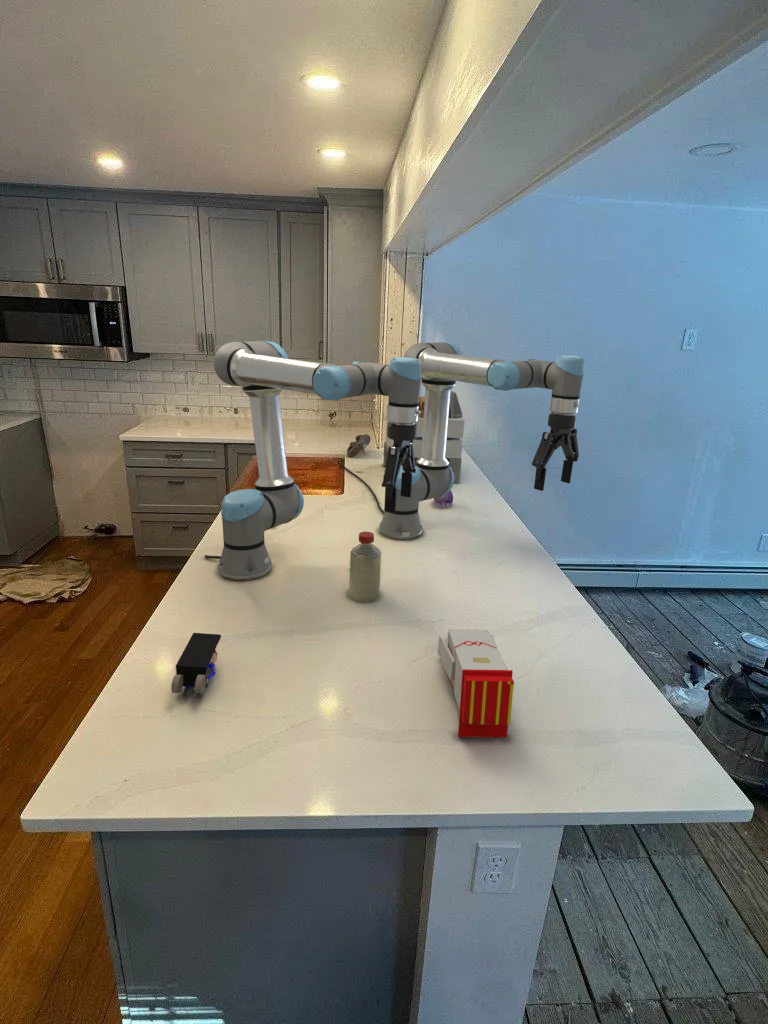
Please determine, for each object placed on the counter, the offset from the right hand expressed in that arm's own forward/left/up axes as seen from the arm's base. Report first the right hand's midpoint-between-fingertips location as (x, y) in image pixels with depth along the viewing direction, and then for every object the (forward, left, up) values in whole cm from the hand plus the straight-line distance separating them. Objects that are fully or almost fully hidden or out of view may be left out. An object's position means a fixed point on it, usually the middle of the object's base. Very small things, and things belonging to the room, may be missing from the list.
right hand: (552, 485), depth 166 cm
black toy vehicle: (-11, -104, -28) cm, 109 cm away
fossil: (-147, +45, -28) cm, 156 cm away
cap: (-20, -53, -10) cm, 58 cm away
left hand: (-15, -47, -1) cm, 49 cm away
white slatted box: (-101, +46, -28) cm, 115 cm away
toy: (+26, -62, -28) cm, 72 cm away
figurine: (-61, +21, -28) cm, 70 cm away
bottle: (-20, -53, -28) cm, 63 cm away
